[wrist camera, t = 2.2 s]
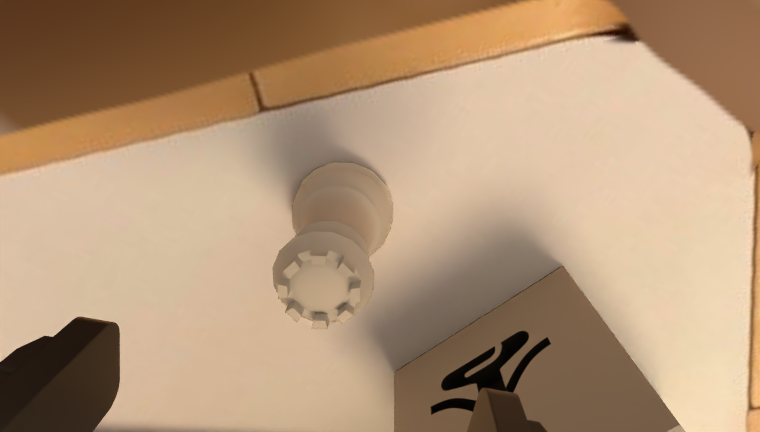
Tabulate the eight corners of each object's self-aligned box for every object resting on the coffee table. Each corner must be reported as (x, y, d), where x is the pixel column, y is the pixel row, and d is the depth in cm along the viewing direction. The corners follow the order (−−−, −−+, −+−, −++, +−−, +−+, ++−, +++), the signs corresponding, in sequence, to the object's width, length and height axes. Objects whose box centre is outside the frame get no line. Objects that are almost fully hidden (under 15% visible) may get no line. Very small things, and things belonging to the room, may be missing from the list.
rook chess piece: (331, 267, 23) (301, 377, 16) (276, 191, 22) (214, 270, 15) (412, 222, 22) (420, 315, 15) (359, 139, 21) (339, 195, 14)
